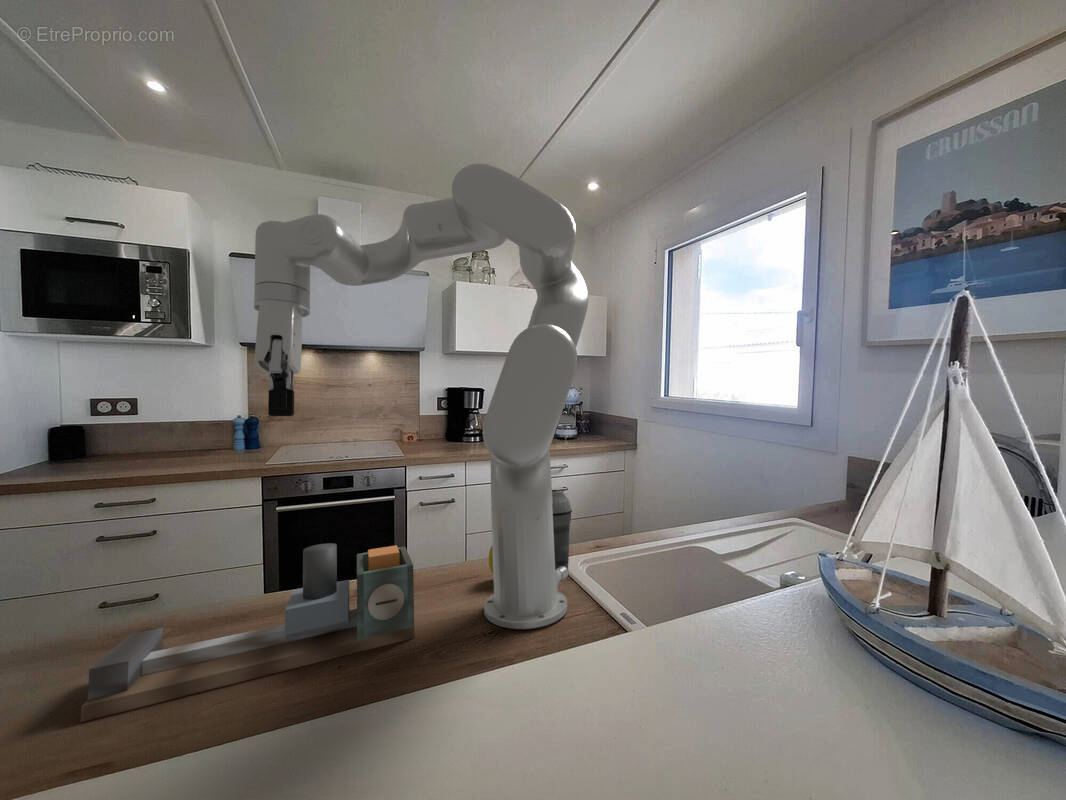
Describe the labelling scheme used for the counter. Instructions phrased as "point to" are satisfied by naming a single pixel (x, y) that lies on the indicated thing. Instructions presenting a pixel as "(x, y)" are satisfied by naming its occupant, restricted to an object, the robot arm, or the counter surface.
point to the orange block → (383, 558)
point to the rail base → (235, 670)
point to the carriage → (318, 595)
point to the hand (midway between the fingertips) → (281, 415)
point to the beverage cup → (561, 528)
